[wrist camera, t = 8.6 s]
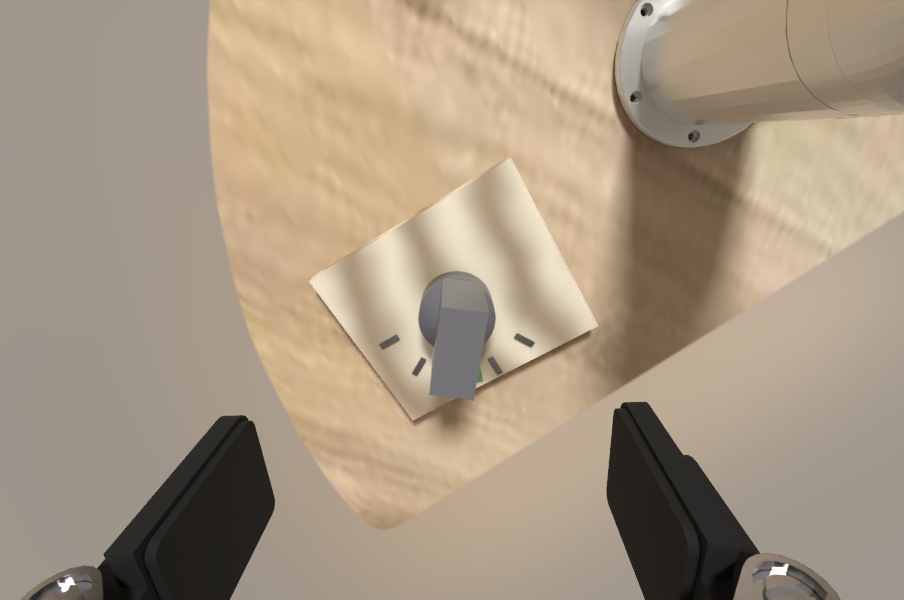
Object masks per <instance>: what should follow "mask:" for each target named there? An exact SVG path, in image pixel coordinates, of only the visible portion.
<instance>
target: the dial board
mask: <svg viewBox="0 0 904 600" xmlns="http://www.w3.org/2000/svg"><path fill="white" fill-rule="evenodd" d="M452 271H462V272H467V273H470V274H472V275H474V276H476V277H477V278H479V279H480V280H481V281H483V283H484V284H485V285H486V286H487V288H488V290H489V292H490V294H491V297H492V301H493V305H494V309H495V315H496V321H495V326H494V330H493V332H492V334H491V336H490V337H489V339H488V340H487V341H486V342H485V343H484V344H483V350H482V356H481V361H480V367H479V373H478V378H477V384H476V388H478V387H480V386H482V385H484V384H486V383H488V382H489V381H491V380H493V379H495V378H497V377H499V376H501V375H503V374H505V373H507V372H509V371H511V370H513V369H515V368H517V367H519V366H521V365H523V364H525V363H527V362H529V361H531V360H533V359H535V358H536V357H538V356H540V355H542V354H544V353H546V352H548V351H550V350H552V349H554V348H556V347H558V346H560V345H562V344H564V343H566V342H568V341H570V340H572V339H574V338H576V337H578V336H580V335H582V334H583V333H585V332H587V331H589V330H591V329H593V328H595V327H597V326H598V324H597V322H596V320H595V319H594V317H593V315H592V313H591V311H590V309H589V307H588V305H587V303H586V301H585V299H584V297H583V295H582V294H581V292H580V290H579V288H578V286H577V284H576V282H575V280H574V278H573V276H572V274H571V272H570V271H569V269H568V267H567V265H566V263H565V261H564V259H563V257H562V255H561V253H560V251H559V249H558V248H557V246H556V244H555V242H554V240H553V238H552V236H551V234H550V232H549V230H548V228H547V226H546V225H545V223H544V221H543V219H542V217H541V215H540V213H539V211H538V209H537V207H536V205H535V203H534V201H533V200H532V198H531V196H530V194H529V192H528V190H527V188H526V186H525V184H524V182H523V180H522V178H521V177H520V175H519V173H518V171H517V169H516V167H515V165H514V163H513V161H512V159H511V158H506V159H505V160H503V161H501V162H500V163H498V164H496V165H495V166H493V167H492V168H490V169H488V170H487V171H485V172H483V173H482V174H480V175H478V176H477V177H475V178H473V179H472V180H470V181H469V182H467V183H465V184H464V185H462V186H460V187H459V188H457V189H455V190H454V191H452V192H451V193H449V194H447V195H446V196H444V197H442V198H441V199H439V200H437V201H436V202H434V203H432V204H431V205H429V206H428V207H426V208H424V209H423V210H421V211H419V212H418V213H416V214H414V215H413V216H411V217H410V218H408V219H406V220H405V221H403V222H401V223H400V224H398V225H396V226H395V227H393V228H391V229H390V230H388V231H387V232H385V233H383V234H382V235H380V236H378V237H377V238H375V239H373V240H372V241H370V242H369V243H367V244H365V245H364V246H362V247H360V248H359V249H357V250H355V251H354V252H352V253H350V254H349V255H347V256H346V257H344V258H342V259H341V260H339V261H337V262H336V263H334V264H332V265H331V266H329V267H328V268H326V269H324V270H323V271H321V272H319V273H318V274H316V275H315V276H314V277H313V278H312V279H311V280H310V281H309V282H310V284H311V285H312V286H313V288H314V289H315V290H316V292H317V293H318V294H319V296H320V297H321V298H322V300H323V301H324V302H325V304H326V305H327V306H328V308H329V309H330V310H331V312H332V313H333V314H334V316H335V317H336V318H337V320H338V321H339V322H340V324H341V325H342V326H343V328H344V329H345V330H346V332H347V333H348V334H349V336H350V337H351V338H352V340H353V341H354V343H355V344H356V345H357V347H358V348H359V349H360V351H361V352H362V353H363V355H364V356H365V357H366V359H367V360H368V361H369V363H370V364H371V365H372V367H373V368H374V369H375V371H376V372H377V373H378V375H379V376H380V377H381V379H382V380H383V381H384V383H385V384H386V385H387V387H388V388H389V389H390V391H391V392H392V393H393V395H394V396H395V397H396V399H397V400H398V402H399V403H400V404H401V406H402V407H403V408H404V410H405V411H406V412H407V414H408V415H409V416H410V418H411V419H412V420H415V419H417V418H419V417H421V416H423V415H425V414H427V413H429V412H431V411H433V410H435V409H437V408H439V407H441V406H442V405H444V404H446V403H448V402H450V401H452V400H454V399H456V398H449V397H441V396H432V395H429V393H430V382H431V370H432V358H433V349H434V347H433V346H432V345H431V344H430V343H429V342H428V341H427V340H426V339H425V338H424V336H423V334H422V333H421V330H420V327H419V321H418V315H419V309H420V304H421V299H422V295H423V292H424V290H425V288H426V287H427V285H428V284H429V283H430V282H431V281H432V280H433V279H434V278H436V277H437V276H439V275H441V274H444V273H447V272H452Z"/></svg>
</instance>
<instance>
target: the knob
mask: <svg viewBox="0 0 904 600" xmlns="http://www.w3.org/2000/svg"><path fill="white" fill-rule="evenodd" d="M418 321H419V327H420V330H421V333H422V334H423V336H424V338H425V339H426V340H427V341H428V342H429V343H430V344H431V345H432V346H433V347H434V349H433V358H432V370H431V382H430V393H429V395H432V396H441V397H449V398H458V399H467V400H474V395H475V390H476V384H477V378H478V373H479V367H480V361H481V356H482V350H483V344H484V343H485V342H486V341H487V340H488V339H489V337H490V336H491V334H492V332H493V330H494V326H495V321H496V315H495V309H494V305H493V301H492V297H491V294H490V292H489V290H488V288H487V286H486V285H485V284H484V283H483V281H481V280H480V279H479V278H477V277H476V276H474V275H472V274H470V273H467V272H462V271H452V272H447V273H444V274H441V275H439V276H437V277H436V278H434V279H433V280H432V281H431V282H430V283H429V284H428V285H427V287H426V288H425V290H424V292H423V295H422V299H421V304H420V309H419V315H418Z"/></svg>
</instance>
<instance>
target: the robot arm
mask: <svg viewBox="0 0 904 600" xmlns="http://www.w3.org/2000/svg"><path fill="white" fill-rule="evenodd" d="M641 9H642V10H644V12H645V15H644V17H643V16H642V15H641V12H640V10H641ZM615 79H616V86H617V92H618V95H619V98H620V101H621V103H622V106H623V109H624V110H625V112H626V113H627V115H628V117H629V118H630V120H631V121H632V123H633V124H634V125H635V126H636V127H637V128H638V129H639V130H640V131H641V132H642V133H644V134H645V135H647V136H648V137H650V138H652V139H653V140H655V141H658V142H660V143H663V144H666V145H670V146H677V147H690V148H693V147H701V146H707V145H712V144H715V143H718V142H721V141H724V140H726V139H728V138H730V137H732V136H734V135H736V134H737V133H739V132H741V131H743V130H744V129H745V128H747V127H748V126H749V125H750V124H752V123H759V122H778V121H798V120H817V119H837V118H856V117H875V116H885V115H900V114H904V0H637V1H636V2H635V4H634V6H633V8H632V9H631V11H630V13H629V15H628V17H627V19H626V20H625V23H624V26H623V29H622V31H621V34H620V37H619V40H618V46H617V51H616V56H615ZM631 95H633V96H634V101H633V102H631V101H630V96H631ZM689 133H690V134H691V138H690V139H689V140H688V136H689ZM607 500H608V504H609V507H610V510H611V512H612V515H613V517H614V520H615V522H616V525H617V528H618V530H619V533H620V536H621V538H622V540H623V543H624V546H625V549H626V551H627V554H628V556H629V559H630V562H631V564H632V567H633V569H634V572H635V575H636V577H637V580H638V582H639V585H640V587H641V590H642V593H643V595H644V598H645V600H840V598H839V596H838V594H837V593H836V592H835V591H834V589H833V588H832V587H831V586H830V585H829V584H828V583H827V582H826V581H825V580H824V579H823V578H822V577H820V576H819V575H818V574H817V573H815V572H814V571H813V570H812V569H810V568H808V567H806V566H805V565H803V564H801V563H799V562H797V561H795V560H792V559H790V558H787V557H784V556H782V555H776V554H769V553H764V554H760V553H759V551H758V550H757V548H756V547H755V545H754V544H753V542H752V541H751V540H750V538H749V537H748V535H747V534H746V532H745V531H744V529H743V528H742V527H741V525H740V524H739V522H738V521H737V519H736V518H735V516H734V515H733V514H732V512H731V511H730V509H729V508H728V506H727V505H726V504H725V502H724V501H723V499H722V498H721V496H720V495H719V494H718V492H717V491H716V489H715V488H714V486H713V485H712V484H711V482H710V481H709V479H708V478H707V477H706V475H705V473H704V472H703V471H702V469H701V468H700V466H699V465H698V463H697V462H696V461H695V460H694V459H693V458H692V457H691V456H689V455H683V454H682V453H681V451H680V450H679V449H678V447H677V446H676V444H675V443H674V441H673V440H672V438H671V436H670V435H669V433H668V432H667V431H666V429H665V428H664V426H663V425H662V423H661V422H660V420H659V419H658V417H657V416H656V415H655V413H654V411H653V410H652V408H651V407H650V405H649V404H648V403H647V402H625V403H622V405H621V408H620V409H615V410H614V416H613V426H612V436H611V448H610V458H609V469H608V480H607ZM274 506H275V499H274V494H273V491H272V487H271V483H270V479H269V476H268V472H267V468H266V465H265V461H264V458H263V454H262V450H261V446H260V443H259V439H258V436H257V432H256V428H255V425H254V423H253V422H252V421H249V420H248V418H247V417H246V416H243V415H240V416H222V417H220V418H219V419H218V420H217V421H216V422H215V423H214V424H213V426H212V427H211V428H210V429H209V430H208V432H207V433H206V434H205V435H204V436H203V437H202V439H201V440H200V441H199V442H198V443H197V445H196V446H195V447H194V448H193V449H192V450H191V452H190V453H189V454H188V455H187V456H186V457H185V459H184V460H183V461H182V462H181V463H180V465H179V466H178V467H177V468H176V469H175V470H174V472H173V473H172V474H171V475H170V477H169V478H168V479H167V480H166V481H165V482H164V483H163V485H162V486H161V487H160V488H159V489H158V491H157V492H156V493H155V494H154V495H153V496H152V498H151V499H150V500H149V501H148V502H147V504H146V505H145V506H144V507H143V508H142V509H141V511H140V512H139V513H138V514H137V515H136V517H135V518H134V519H133V520H132V521H131V523H130V524H129V525H128V526H127V527H126V528H125V529H124V531H123V532H122V533H121V534H120V535H119V537H118V538H117V539H116V540H115V541H114V543H113V544H112V545H111V546H110V547H109V548H108V550H107V551H106V552H105V553H104V557H105V560H104V561H103V562H102V563H101V565H100V566H99V567H98V568H95V567H93V566H79V567H74V568H70V569H67V570H65V571H62V572H60V573H57V574H56V575H53V576H52V577H50V578H48V579H47V580H45V581H43V582H41V583H40V584H39V585H37V586H36V587H35V588H33V589H32V590H31V591H29V592H28V593H27V594H26V595H25V596H24V597H23V598H22V599H21V600H230V598H231V596H232V594H233V592H234V590H235V588H236V586H237V584H238V582H239V580H240V578H241V576H242V574H243V572H244V570H245V568H246V566H247V564H248V562H249V560H250V558H251V556H252V554H253V552H254V550H255V548H256V546H257V544H258V542H259V540H260V538H261V536H262V534H263V532H264V530H265V528H266V526H267V523H268V522H269V520H270V518H271V516H272V513H273V511H274Z"/></svg>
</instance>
